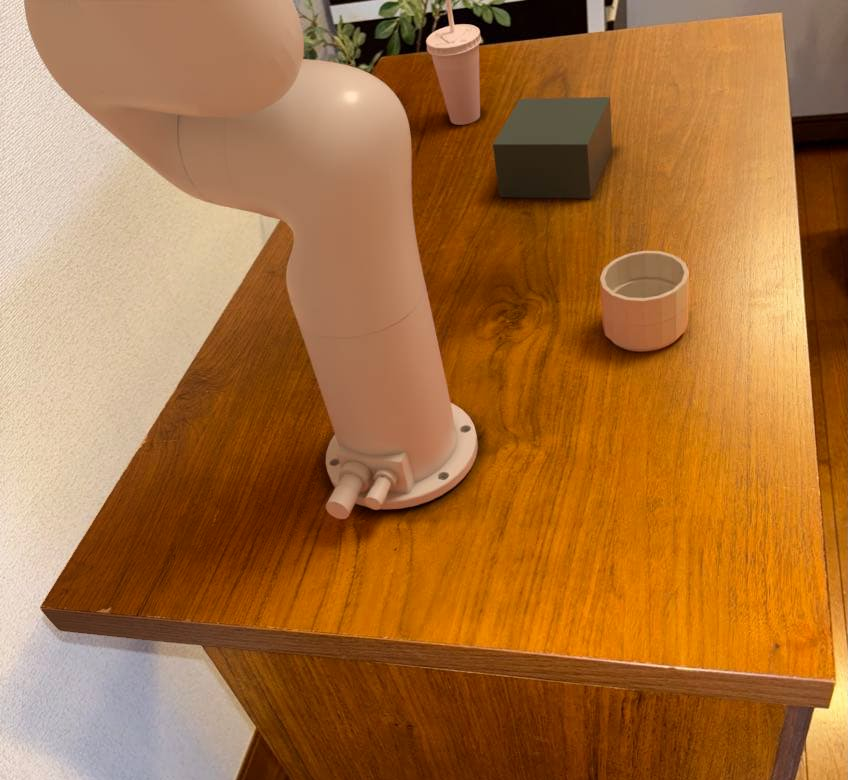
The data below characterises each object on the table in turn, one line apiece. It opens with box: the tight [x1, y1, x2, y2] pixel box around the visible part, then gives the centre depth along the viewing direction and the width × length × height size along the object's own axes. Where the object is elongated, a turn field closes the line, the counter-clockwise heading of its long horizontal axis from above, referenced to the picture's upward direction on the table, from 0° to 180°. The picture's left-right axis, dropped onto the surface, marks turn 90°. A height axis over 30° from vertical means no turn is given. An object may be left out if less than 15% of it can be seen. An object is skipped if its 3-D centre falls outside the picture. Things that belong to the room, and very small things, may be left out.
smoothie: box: [425, 0, 482, 126], centre depth 115 cm, size 6×6×14 cm
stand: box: [492, 96, 613, 200], centre depth 105 cm, size 10×10×6 cm
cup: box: [599, 250, 690, 352], centre depth 84 cm, size 7×7×6 cm
